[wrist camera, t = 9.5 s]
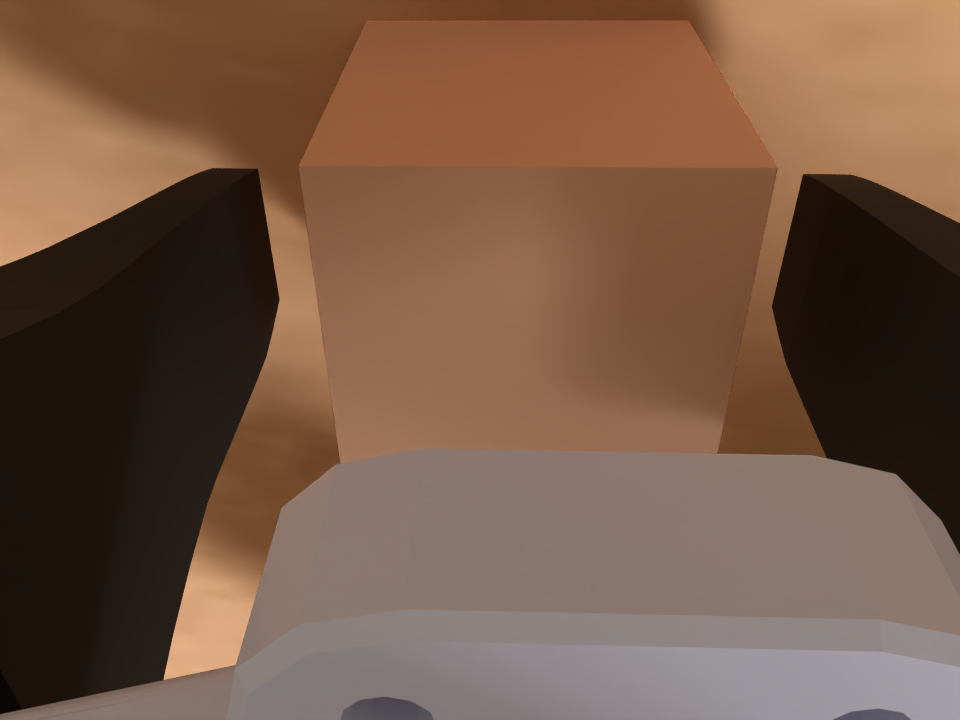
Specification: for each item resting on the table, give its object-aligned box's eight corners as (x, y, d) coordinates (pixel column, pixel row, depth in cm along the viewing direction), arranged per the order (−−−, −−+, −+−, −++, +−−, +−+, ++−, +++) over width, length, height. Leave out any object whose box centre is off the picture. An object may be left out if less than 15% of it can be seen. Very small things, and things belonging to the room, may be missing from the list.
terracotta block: (652, 292, 15) (705, 507, 11) (389, 290, 15) (346, 501, 11) (688, 18, 12) (777, 168, 8) (367, 19, 12) (298, 166, 8)
